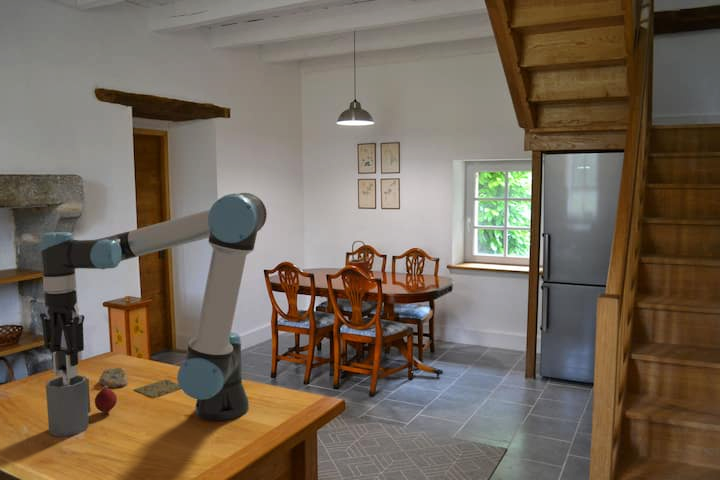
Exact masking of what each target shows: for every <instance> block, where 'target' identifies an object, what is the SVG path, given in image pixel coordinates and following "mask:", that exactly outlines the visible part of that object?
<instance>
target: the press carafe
mask: <svg viewBox="0 0 720 480" xmlns="http://www.w3.org/2000/svg"><path fill="white" fill-rule="evenodd" d="M89 382H90V381H89V378H88V377H87V376H86V375H79V374H78V376H75V377H73V378H70V386H63V375H60V376H57V377H55V378H53V379H49V380H47V381H46V385H45V391H46V406H47V407H46V408H47V420H48V422H47V423H48V432H49V435H51V436H53V437H56V438H57V437H58V438H64V437H71V436H74V435H78V434H81V433H83V432H85V431H86V430H87V429H88V428H89V425H90V424H89V420H90V419H89V413H91V412H92V411H91V410H92V409H91V398H90V397H91V396H90V395H91V394H90V383H89Z"/></svg>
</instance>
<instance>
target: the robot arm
mask: <svg viewBox="0 0 720 480" xmlns="http://www.w3.org/2000/svg"><path fill="white" fill-rule="evenodd" d="M267 213H268V212H267V209H266V206H265V204H264V202H263V201H262V199H260V198H259V197H258V196H257V195H255V194H253V193H249V192H248V193H247V192H239V193H230V194H226V195H224V196H222V197H220V198H218V199H217V200H216V201H215V202H214V203H213V204H212V205H211V208H210V209H207V210H203V211H200V212H196V213H192V214H189V215H184V216H180V217H176V218H173V219H170V220H165V221H163V222H159V223H155V224H151V225H148V226H144V227H140V228H136V229H133V230H130V231H125V232H122V233H118V234H113V235H109V236H105V237H103V238H102V237H100V238H96V239H83V240H80V239H79V240H78V239H74V235H73V233H72V232H70V231H53V232H45V233H44V234H42V235H41V238H40V239H41V241H40V253H41V254H40V255H41V261H42V262H41V263H42V271H43V272H42V281H43V282H42V283H43V291H45V293H44V294H43V295H44V306H45V307H47V311H45V312H41V313H39V316H40V317H39V318H40V320H41V323H42V332H43V343H44V345H43V346H44V349H45V350H49V352H50V353H51V361H52V362H51V363H52V364H53V376H54V377H55V378H57V377H60V376H63V374H62V370H58V369H57V361H56V350H57V349H60V348H64V347H62V337H63V335H64V340H65V347H67V350H68V353H66V367H67V379H70V378H73V377H75V376H78V375H79V374H78V365H79V356H78V354H79V353H80V352H82V351H84V349H85V345H84V344H85V343H84V342H85V341H84V322H85V316H84V314H81V315H80V314H78V313H77V310H76V308H75V305H76V304H77V303H78V296H77V290H76V288H77V287H76V284H77V283H76V269H94V270H95V269H97V270H98V269H99V270H106V269H107V270H108V269H114V268H117V267H118V266H119V264H120V263H121V262H123V261H125V260H129V259H134V258H137V257H140V256H144V255H147V254H152V253H155V252H159V251H160V252H161V251H163V250H167V249H168V250H169V249H171V248H175V247H178V246H182V245H186V244H190V243H194V242H199V241H203V240H206V239H208V244H209V246H211V248H212V253H211V258H210V263H209V269H208V272H207V273H208V274H207V279H206V283H205V284H206V285H205V289H204V294H203V300H202V305H201V309H200V314H199V319H198V324H197V330H196V335H195V336H194V337H193V338H192V339H190V340H189V341H188V345H187V350H186V355H185V360H184V361H183V362H182V363H181V365H180V366H179V369H178V372H177V377H176V378H177V384H179V386H180V388H181V389H180V390H182V391H183V393H184V394H185V395H187V396H188V397H190V398H192V399H195V400H196V402H195V415H196V417H198V418H199V419H200V420H204V421H210V422H211V421H212V422H219V421H227V420H233V419H237V418H239V417H241V416H244V415H245V414H246V413H247V412H248V411H249V405H250V404H249V401H250V400H249V399H248V396H247V393H246V390H245V388H244V385H243V381H242V379H243V378H242V377H243V375H242V373H243V372H242V369H243V368H242V342H241V336H240V335H239V334H238V333H236V332H232V328H233V322H234V318H235V312H236V308H237V303H238V298H239V294H240V289H241V283H242V278H243V273H244V270H245V264H246V259H247V256H248V254H250V253H252V252H253V251H254V249H255V244H256V239H257V235H258V234H257V233H258V232H259V231H260V230H261V229H262V228H263V227H264V226H265V224H266V220H267V217H268V216H267Z"/></svg>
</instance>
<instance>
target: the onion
mask: <svg viewBox="0 0 720 480" xmlns="http://www.w3.org/2000/svg"><path fill="white" fill-rule="evenodd" d="M117 401H118V398H117V394H116V393H115V392H114V391H113V390H112V389H109V386H105V385H103V388H102V389H101V390H100V391H99V392H98V393H97V394H96V395H95V398H94V406H95V408H96V409H97V410H98V411H100V412H102V413H105V414H108V413H109V412H111V410H113V408H115V406H116V405H117Z"/></svg>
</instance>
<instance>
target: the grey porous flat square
mask: <svg viewBox="0 0 720 480" xmlns="http://www.w3.org/2000/svg"><path fill="white" fill-rule="evenodd" d="M179 390H182V389H181V388H180V386H179V383H178V382H177V383H176V382H174V381H172V380H170V379H163V380H159V381H156V382H153V383H150V384H147V385H143V386H140V387H137V388H133V389H132V391H134V392H137V393H138V394H142V395H144V396H146V397H148V398H151V399H153V400H154V399H157V398H160V397H162V396H165V395H168V394H170V393H174V392H177V391H179Z"/></svg>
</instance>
